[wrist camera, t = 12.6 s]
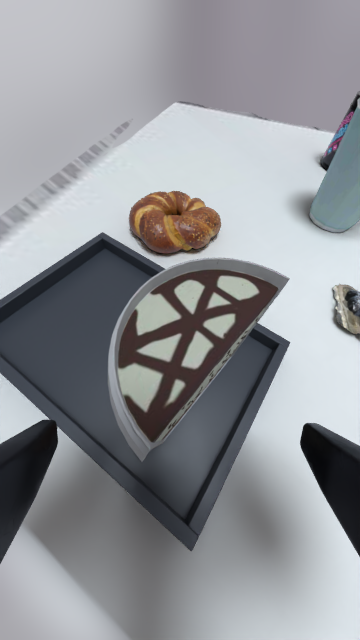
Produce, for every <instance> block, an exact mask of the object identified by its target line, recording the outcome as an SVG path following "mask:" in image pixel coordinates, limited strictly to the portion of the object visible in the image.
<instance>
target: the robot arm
mask: <svg viewBox="0 0 360 640" xmlns="http://www.w3.org/2000/svg"><path fill="white" fill-rule="evenodd" d="M57 443H58V436H57V423H56V421H55V420H42V421H40V422H38V423H36V424H35V425H33V426H31V427H29V428H28V429H26V430H24V431H22V432H21V433H19V434H17V435H15V436H14V437H12V438H10V439H8V440H7V441H5V442H3V443H1V444H0V563H1V562H2V560H3V558H4V556H5V554H6V552H7V550H8V548H9V546H10V545H11V543H12V541H13V539H14V537H15V535H16V533H17V531H18V530H19V527H20V526H21V524H22V522H23V520H24V518H25V516H26V514H27V513H28V511H29V509H30V507H31V505H32V503H33V501H34V499H35V497H36V495H37V493H38V490H39V488H40V486H41V483H42V481H43V479H44V476H45V474H46V471H47V469H48V467H49V464H50V462H51V459H52V457H53V455H54V452H55V450H56V447H57ZM300 445H301V449H302V451H303V453H304V455H305V457H306V459H307V462H308V464H309V466H310V468H311V470H312V472H313V474H314V476H315V478H316V480H317V482H318V484H319V487H320V488H321V490H322V492H323V494H324V496H325V498H326V500H327V501H328V503H329V505H330V507H331V508H332V510H333V512H334V514H335V515H336V517H337V519H338V520H339V522H340V524H341V526H342V527H343V529H344V531H345V532H346V534H347V536H348V538H349V539H350V541H351V543H352V544H353V546H354V548H355V550H356V551H357V553H358V555H359V556H360V446H359V445H357V444H355V443H353V442H351V441H349V440H347V439H345V438H343V437H342V436H340V435H338V434H336V433H334V432H332V431H330V430H328V429H326V428H325V427H323V426H321V425H319V424H316V423H306V424H305V425H304V426H303V431H302V436H301V441H300Z"/></svg>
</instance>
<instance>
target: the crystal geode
mask: <svg viewBox="0 0 360 640" xmlns="http://www.w3.org/2000/svg"><path fill="white" fill-rule="evenodd" d="M333 289H334V290H335V291H334V292H335V294H334V296H335V298H336V300H337V301H338V302H339V303H338V302H337V303H338V304H337V305H338V308H337V307H335V308H336V309H337V310H338V312H337V313H338V314H337V316H336V318H337V319H338V320H337V322H338V323H340V325H341V326H342V327H344V328H346V329H347V330H348V331H350V332H351V333H353V334H358V333H360V292H358V291H357V290H356V289H354V288H353V287H351V286H349V285H341V284H340V285H339V286H337V285H335V287H334V288H333Z"/></svg>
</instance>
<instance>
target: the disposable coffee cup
mask: <svg viewBox="0 0 360 640" xmlns="http://www.w3.org/2000/svg"><path fill="white" fill-rule="evenodd" d="M309 216H310V218H311V219H312V221H313V223H315V224H316V225H318V226H319V227H321V228H322V229H325V230H328V231H331V232H344V231H345V230H347V229H349V228H350V227H352V226H353V225H355V224H356V223H357V222H358V221H359V220H360V98H359V99H358V106H357V108H356V110H355V112H354V114H353V117H352V119H351V121H350V123H349V125H348V127H347V130H346V132H345V134H344V136H343V138H342V140H341V142H340V145H339V147H338V149H337V151H336V153H335V155H334V158H333V160H332V162H331V164H330V166H329V168H328V170H327V173H326V175H325V177H324V179H323V181H322V183H321V185H320V188H319V190H318V192H317V194H316V196H315V198H314V201H313V203H312V205H311V210H310V215H309Z"/></svg>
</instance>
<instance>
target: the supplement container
mask: <svg viewBox="0 0 360 640" xmlns="http://www.w3.org/2000/svg"><path fill="white" fill-rule="evenodd" d="M359 98H360V91H359V92H358V93H357V94H356V96H355V98H354V100H353V102H352V103H351V105H350V108H349V109H348V111H347V113H346V115H345V117H344V119H343V121H342V122H341V124H340V126H339V128H338V130H337V131H336V133H335V135H334V137H333V139H332V141H331V142H330V144H329V146H328V148H327V150H326V152H325V153H324V155H323V157H322V160H321V164H322V166H323V167H324V168H325V169H326V170H328V168H329V166H330V164H331V162H332V160H333V158H334V155H335V153H336V151H337V149H338V147H339V145H340V142H341V140H342V138H343V136H344V134H345V132H346V130H347V127H348V125H349V123H350V121H351V119H352V117H353V114H354V112H355V110H356V108H357V106H358V99H359Z"/></svg>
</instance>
